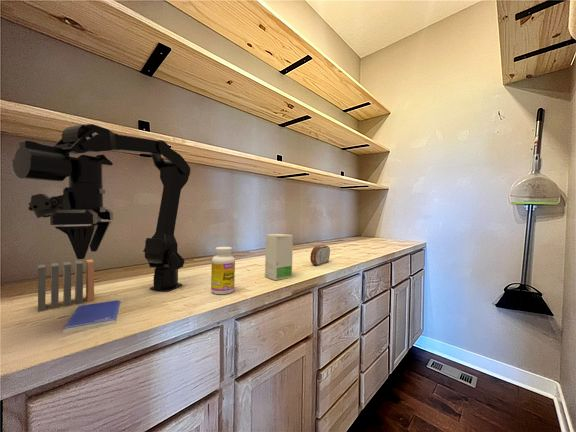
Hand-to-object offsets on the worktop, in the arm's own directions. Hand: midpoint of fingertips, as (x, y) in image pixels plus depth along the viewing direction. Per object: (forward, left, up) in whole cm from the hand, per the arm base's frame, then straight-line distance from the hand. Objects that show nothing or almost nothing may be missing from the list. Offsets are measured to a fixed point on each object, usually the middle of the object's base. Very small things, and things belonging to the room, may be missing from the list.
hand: (88, 254), depth 53 cm
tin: (-71, +43, -14) cm, 84 cm away
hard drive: (0, +2, -14) cm, 14 cm away
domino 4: (-8, -10, -13) cm, 18 cm away
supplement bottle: (-23, +20, -14) cm, 34 cm away
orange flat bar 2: (-6, -11, -13) cm, 18 cm away
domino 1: (0, -14, -13) cm, 20 cm away
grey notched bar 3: (-4, -12, -13) cm, 18 cm away
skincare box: (-43, +31, -14) cm, 55 cm away
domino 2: (-2, -13, -13) cm, 19 cm away
